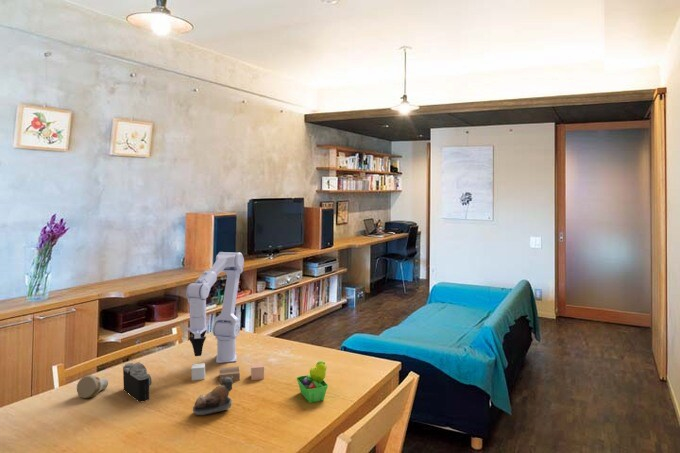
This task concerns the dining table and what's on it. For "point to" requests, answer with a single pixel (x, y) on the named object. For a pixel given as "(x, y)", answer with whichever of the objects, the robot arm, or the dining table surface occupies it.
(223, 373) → the walnut base
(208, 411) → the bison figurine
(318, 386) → the fruit basket
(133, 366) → the camera
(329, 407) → the dining table surface
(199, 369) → the grey block
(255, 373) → the terracotta block
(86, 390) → the grey stepped cylinder
